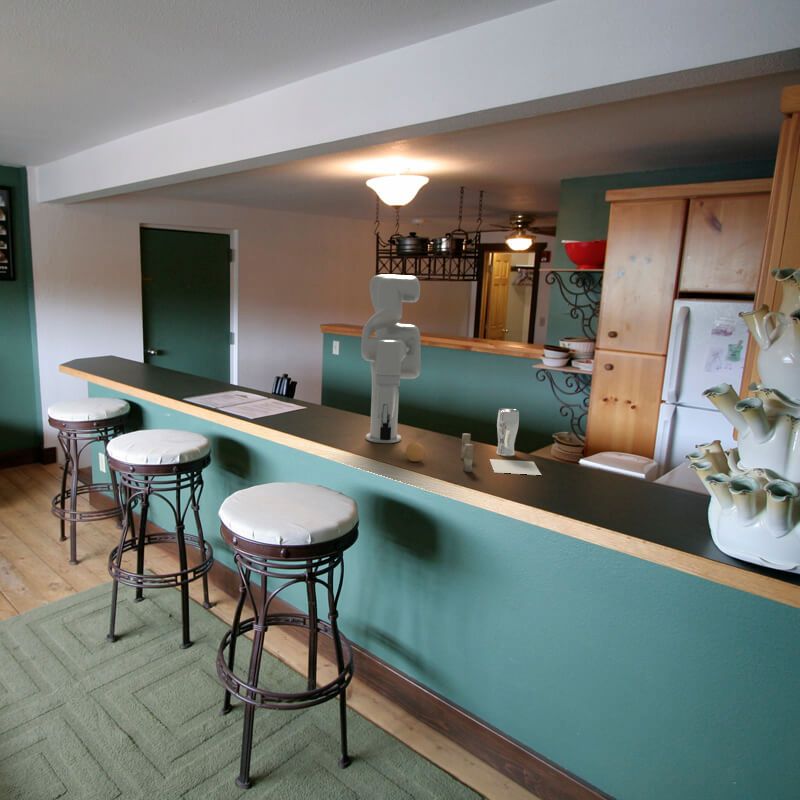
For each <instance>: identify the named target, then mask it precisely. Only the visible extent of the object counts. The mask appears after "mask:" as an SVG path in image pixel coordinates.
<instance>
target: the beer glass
mask: <svg viewBox="0 0 800 800" xmlns="http://www.w3.org/2000/svg"><path fill="white" fill-rule="evenodd" d="M519 413H520V411H519V410H518V409H516V408H507V407H506V408H504V407H502V408H499V409H498V413H497V420H496V422H497V423H496V428H497V430H496V431H497V441H498V442H497V449H496V452H495V453H496V455H498V456H500V455H501V457H513V456H515V443H516V437H517V434H518V430H519V422H520V414H519Z"/></svg>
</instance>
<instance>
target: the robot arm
mask: <svg viewBox="0 0 800 800" xmlns="http://www.w3.org/2000/svg"><path fill="white" fill-rule="evenodd" d="M420 283H421V282H420V280H419V278H418V277H416V276H415V275H404V274H402V275H401V274H377V275H373V276H372V278H371V279H370V282H369V293H370V294H369V295H370V299H371V303H372V307H373V309H374V311H375V312H374V314H373V315H372V316H371V317H369V319H368V320H367V321H366V323H365V325H364V326H363V328H362V333H361V344H360V345H361V346H360V352H361V357H362V358H363V360H365V361H367V362H370V373H371V374H370V376H371V399H370V400H371V401H370V402H371V404H370V405H371V406H370V430H369V432H368V433H366V434H365V440H367V441H369V442H372V443H377V444H378V443H379V444H392V443H398V442H400V441H402V435H400V434H398V417H399V416H398V415H399V398H400V397H399V396H400V392H399V388H398V387H400V386H401V379H404V380H405V379H407V380H413V379H416V378H418V377H419V376H420V374H421V366H422V365H421V364H422V362H421V357H422V356H421V354H422V353H421V350H422V349H421V333H420V329H419V327H418V326H416V325H414V324H409V323H400V320H401V319H402V318H403V303H417V302H418V301H419V299H420V295H421V284H420ZM373 334H375V335H374V336H375V337H371V336H372V335H373Z"/></svg>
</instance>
